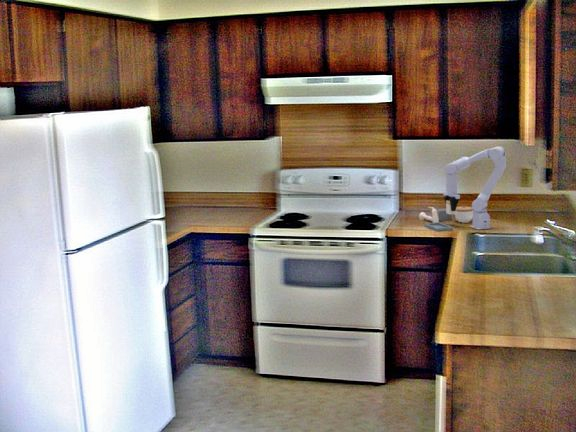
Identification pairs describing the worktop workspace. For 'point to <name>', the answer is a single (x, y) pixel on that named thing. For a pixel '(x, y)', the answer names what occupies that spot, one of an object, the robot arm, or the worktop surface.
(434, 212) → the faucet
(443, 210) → the block
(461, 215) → the lidded jar
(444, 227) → the tray
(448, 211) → the cartridge
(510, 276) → the worktop surface
